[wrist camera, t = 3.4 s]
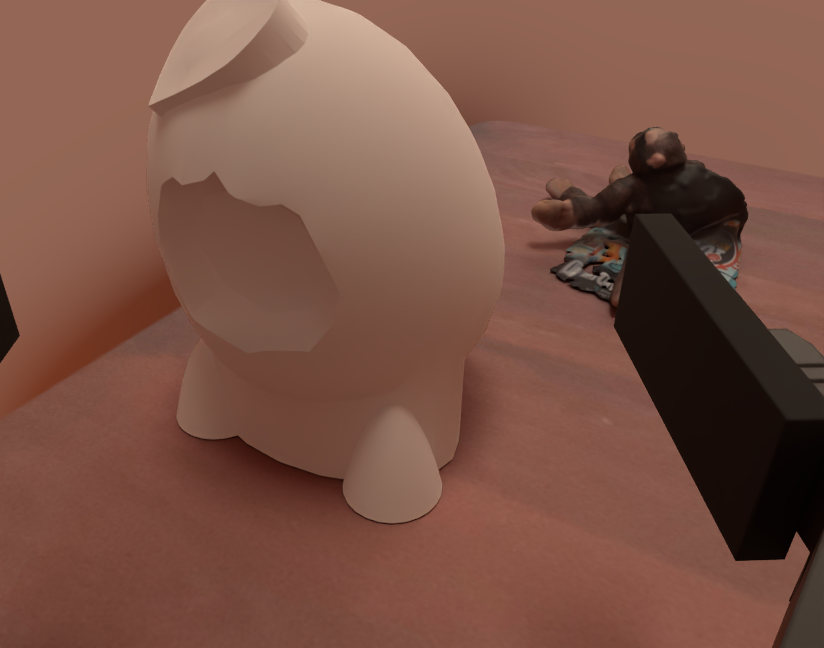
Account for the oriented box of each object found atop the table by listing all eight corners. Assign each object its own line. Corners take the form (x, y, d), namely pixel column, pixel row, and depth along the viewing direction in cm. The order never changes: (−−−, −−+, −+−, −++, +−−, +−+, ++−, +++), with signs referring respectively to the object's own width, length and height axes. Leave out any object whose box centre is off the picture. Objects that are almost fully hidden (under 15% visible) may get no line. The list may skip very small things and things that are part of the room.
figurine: (306, 298, 35) (283, -60, 27) (533, 371, 31) (586, -33, 23) (122, 433, 27) (10, -24, 19) (395, 561, 22) (401, 30, 14)
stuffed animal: (675, 164, 47) (803, 101, 35) (687, 320, 47) (821, 308, 35) (494, 170, 45) (566, 105, 34) (506, 332, 45) (583, 324, 33)
